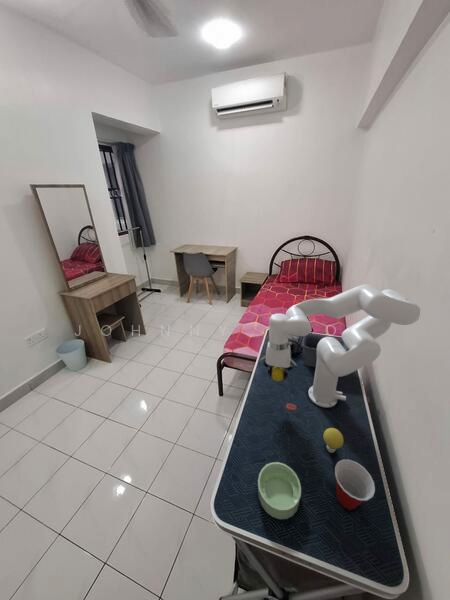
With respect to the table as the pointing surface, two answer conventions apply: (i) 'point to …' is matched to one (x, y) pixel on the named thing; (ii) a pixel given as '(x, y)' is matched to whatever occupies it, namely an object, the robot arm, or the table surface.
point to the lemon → (277, 373)
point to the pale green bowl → (279, 490)
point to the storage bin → (314, 347)
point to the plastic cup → (353, 484)
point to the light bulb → (333, 439)
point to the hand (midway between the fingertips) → (277, 375)
